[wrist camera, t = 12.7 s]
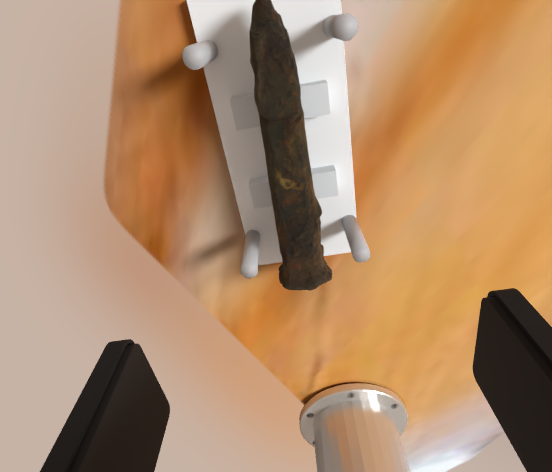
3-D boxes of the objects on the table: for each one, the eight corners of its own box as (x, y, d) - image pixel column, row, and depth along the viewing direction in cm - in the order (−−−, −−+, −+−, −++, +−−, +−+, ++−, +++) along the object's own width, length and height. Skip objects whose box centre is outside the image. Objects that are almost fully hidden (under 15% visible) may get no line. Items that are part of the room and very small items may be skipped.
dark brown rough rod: (327, 260, 31) (335, 297, 26) (279, 265, 31) (280, 302, 27) (312, -13, 21) (322, -21, 17) (243, -3, 21) (236, -9, 17)
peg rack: (356, 245, 32) (372, 287, 27) (253, 261, 33) (249, 304, 28) (336, -33, 22) (354, -49, 17) (188, -2, 23) (164, -8, 18)
